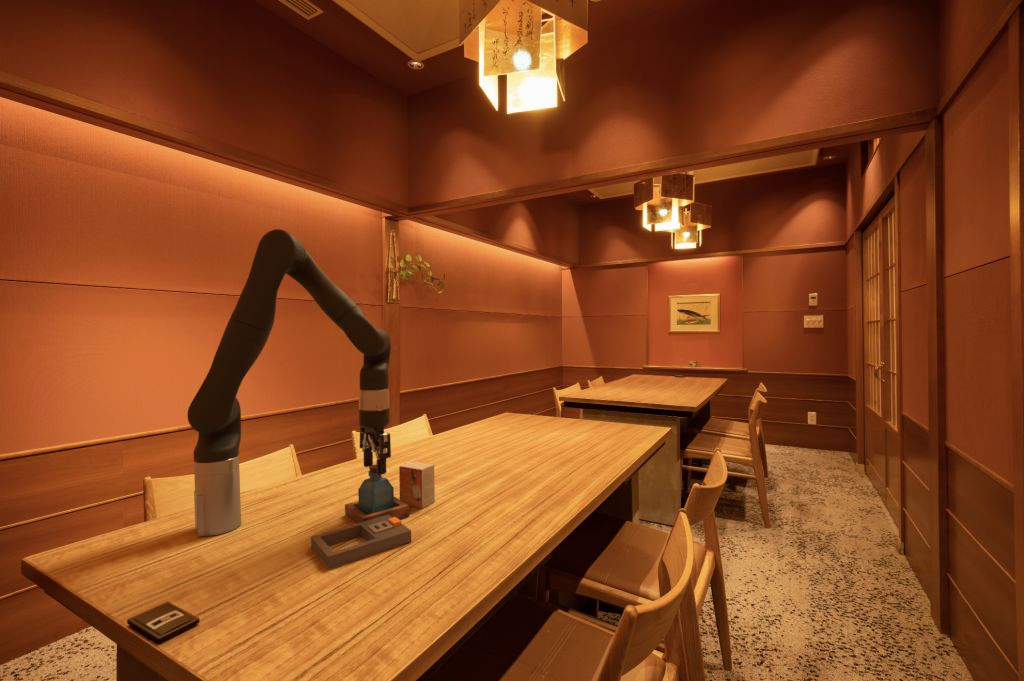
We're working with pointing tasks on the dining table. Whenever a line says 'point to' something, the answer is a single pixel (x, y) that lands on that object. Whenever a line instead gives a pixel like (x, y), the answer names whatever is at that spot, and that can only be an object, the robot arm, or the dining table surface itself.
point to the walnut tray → (358, 516)
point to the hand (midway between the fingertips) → (374, 470)
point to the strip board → (378, 538)
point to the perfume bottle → (375, 493)
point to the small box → (417, 484)
